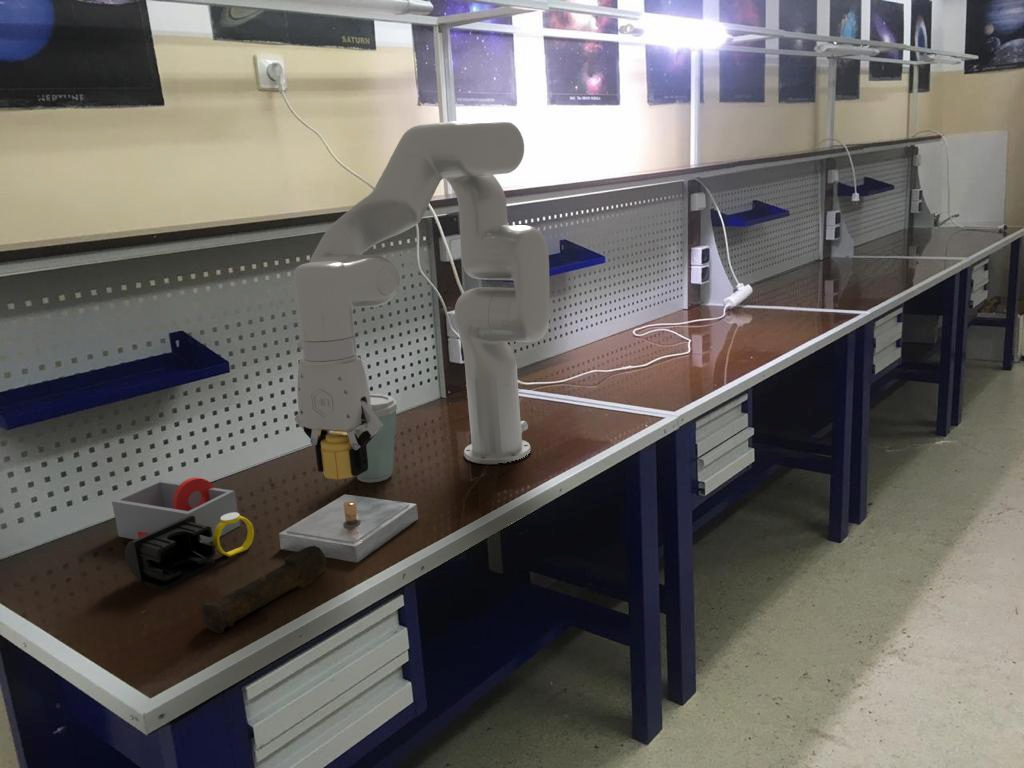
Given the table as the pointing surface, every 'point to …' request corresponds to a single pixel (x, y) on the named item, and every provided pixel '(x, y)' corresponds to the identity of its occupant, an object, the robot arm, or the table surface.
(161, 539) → the end cap
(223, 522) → the watch
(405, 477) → the table surface
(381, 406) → the disposable coffee cup
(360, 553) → the plate
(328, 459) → the wire nut
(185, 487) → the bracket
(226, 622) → the dark brown wood branch
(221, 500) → the parts corral
